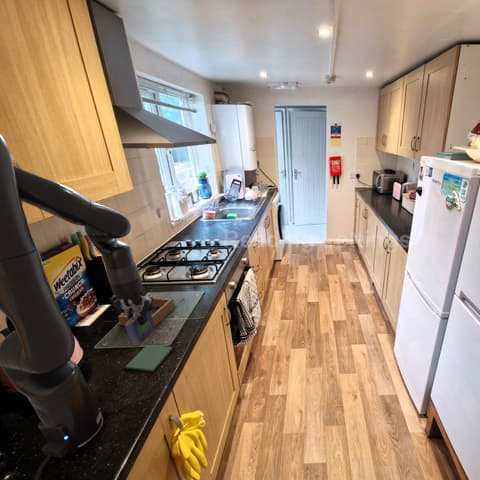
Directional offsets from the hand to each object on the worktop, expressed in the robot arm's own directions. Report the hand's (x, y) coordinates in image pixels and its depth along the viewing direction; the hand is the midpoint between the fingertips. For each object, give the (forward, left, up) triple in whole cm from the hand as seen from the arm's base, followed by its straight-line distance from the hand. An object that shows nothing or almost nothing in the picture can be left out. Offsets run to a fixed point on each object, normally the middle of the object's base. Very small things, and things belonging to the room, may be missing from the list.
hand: (139, 323), depth 86 cm
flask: (0, 0, -6) cm, 6 cm away
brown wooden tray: (+21, +17, -15) cm, 31 cm away
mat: (0, 0, -15) cm, 15 cm away
